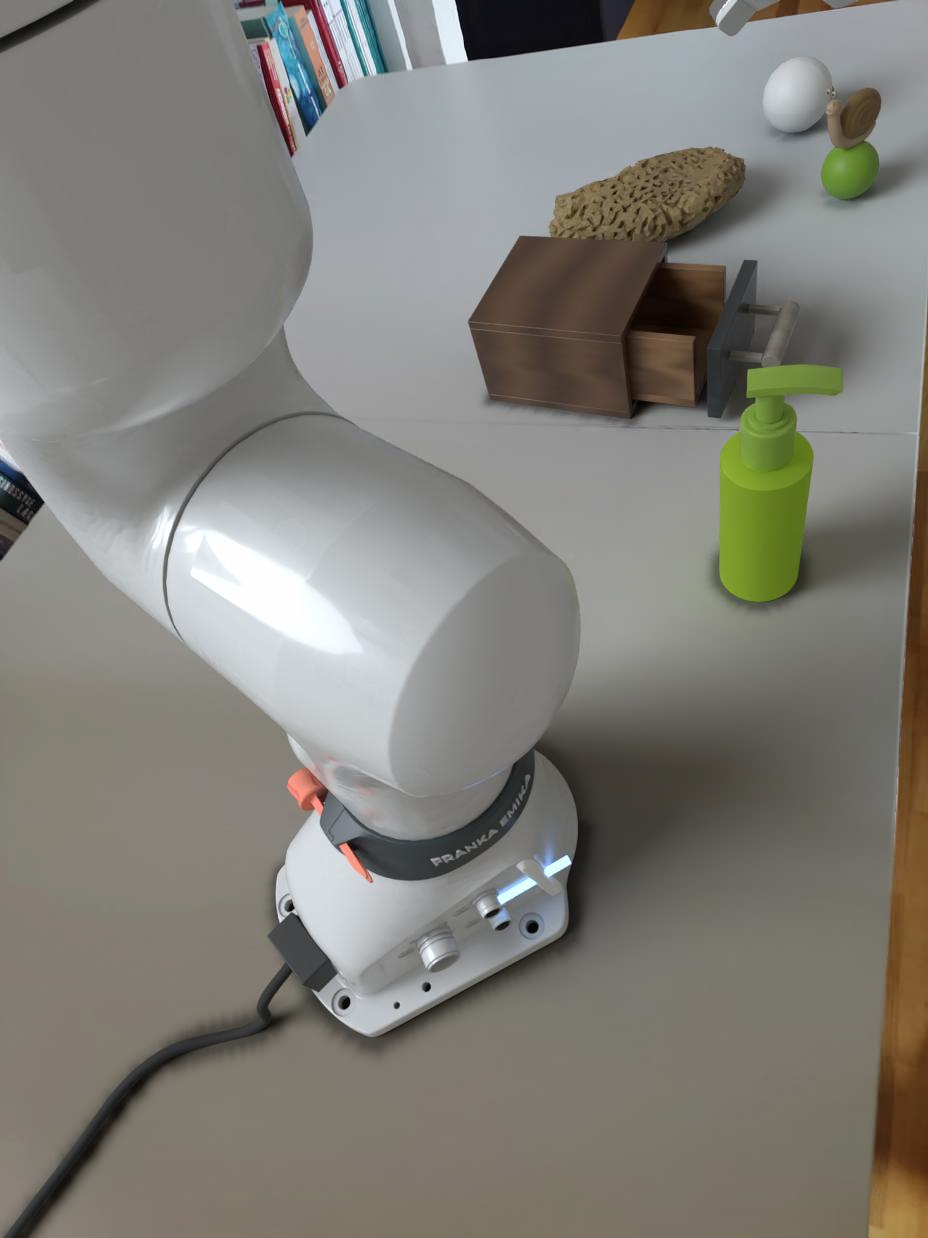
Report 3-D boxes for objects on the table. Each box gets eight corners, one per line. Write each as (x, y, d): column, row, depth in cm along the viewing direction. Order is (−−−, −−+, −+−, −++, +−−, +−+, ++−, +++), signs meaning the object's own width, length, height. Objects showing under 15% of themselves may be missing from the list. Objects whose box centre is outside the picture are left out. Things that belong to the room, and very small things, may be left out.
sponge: (561, 287, 94) (748, 232, 85) (537, 218, 89) (733, 152, 80) (579, 234, 102) (752, 179, 93) (558, 169, 98) (738, 104, 89)
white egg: (834, 139, 95) (841, 69, 89) (763, 151, 97) (766, 84, 91) (823, 92, 100) (830, 24, 94) (756, 105, 102) (759, 38, 96)
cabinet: (671, 328, 84) (666, 241, 77) (630, 419, 79) (621, 335, 71) (536, 316, 90) (519, 234, 83) (489, 399, 85) (467, 321, 77)
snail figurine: (799, 200, 90) (809, 82, 81) (849, 172, 91) (865, 51, 81) (835, 221, 87) (850, 100, 78) (886, 192, 88) (908, 68, 78)
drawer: (802, 336, 78) (809, 262, 72) (770, 425, 74) (776, 354, 67) (617, 320, 86) (609, 251, 79) (577, 400, 81) (566, 334, 75)
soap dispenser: (812, 603, 64) (845, 409, 48) (717, 600, 66) (718, 413, 50) (812, 541, 67) (842, 338, 51) (720, 541, 69) (722, 345, 53)
